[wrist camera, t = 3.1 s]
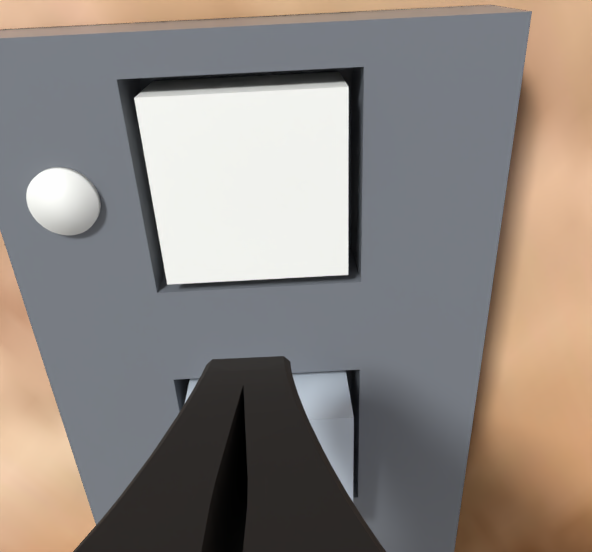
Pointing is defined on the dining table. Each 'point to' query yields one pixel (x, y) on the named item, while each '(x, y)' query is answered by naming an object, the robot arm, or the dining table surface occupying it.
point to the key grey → (326, 417)
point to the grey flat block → (270, 292)
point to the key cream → (248, 175)
